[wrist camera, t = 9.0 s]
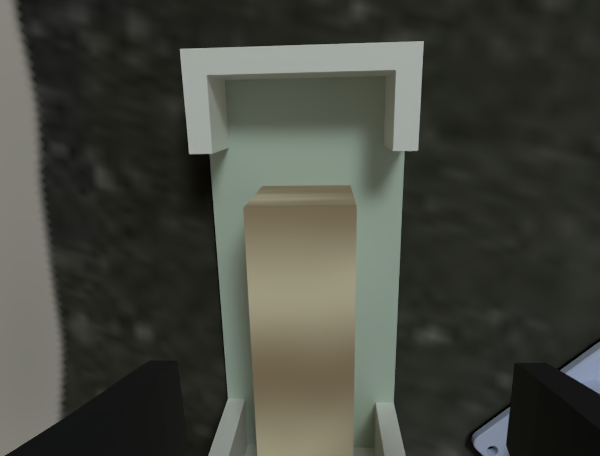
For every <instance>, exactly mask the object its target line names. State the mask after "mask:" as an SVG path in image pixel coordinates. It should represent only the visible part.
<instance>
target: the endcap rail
mask: <svg viewBox="0 0 600 456" xmlns="http://www.w3.org/2000/svg"><path fill="white" fill-rule="evenodd" d="M423 43H424V41H418V42H386V43H355V44H323V45H292V46H260V47H229V48H197V49H180V56H181V67H182V78H183V90H184V101H185V113H186V124H187V135H188V147H189V154H210V167H211V180H212V193H213V206H214V220H215V233H216V246H217V259H218V272H219V286H220V299H221V312H222V325H223V339H224V352H225V365H226V378H227V392H228V400H227V403H226V406H225V409H224V412H223V415H222V417H221V420H220V423H219V426H218V429H217V432H216V435H215V438H214V440H213V443H212V446H211V449H210V452H209V455H208V456H257V440H256V422H255V405H254V387H253V370H252V352H251V335H250V317H249V300H248V282H247V265H246V247H245V230H244V212H243V208H244V206H245V205H246V204H247V203H248V202H249V201H250V200H251V198H252V197H253V196H254V195H255V194H256V193H257V192H258V190H259V189H260V188H261V187H262V186H310V185H351V189H352V192H353V196H354V199H355V202H356V206H357V235H356V303H355V371H354V439H353V456H405V452H404V447H403V443H402V438H401V434H400V429H399V425H398V420H397V416H396V411H395V407H394V381H395V358H396V335H397V312H398V289H399V266H400V243H401V220H402V197H403V174H404V151H418V140H419V121H420V101H421V82H422V63H423Z"/></svg>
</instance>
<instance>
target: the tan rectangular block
mask: <svg viewBox="0 0 600 456" xmlns="http://www.w3.org/2000/svg"><path fill="white" fill-rule="evenodd" d="M243 212H244V230H245V247H246V265H247V282H248V300H249V317H250V335H251V352H252V370H253V387H254V405H255V422H256V440H257V456H353V439H354V371H355V303H356V235H357V206H356V202H355V199H354V196H353V192H352V189H351V185H310V186H262V187H261V188H260V189H259V190H258V192H257V193H256V194H255V195H254V196H253V197H252V198H251V200H250V201H249V202H248V203H247V204H246V205H245V206H244V208H243Z"/></svg>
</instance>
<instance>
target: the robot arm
mask: <svg viewBox="0 0 600 456" xmlns="http://www.w3.org/2000/svg"><path fill="white" fill-rule="evenodd" d="M186 441H187V435H186V427H185V419H184V410H183V402H182V394H181V386H180V378H179V370H178V362H177V361H149V362H147V363H146V364H144V365H142V366H141V367H139V368H138V369H136V370H134V371H133V372H131V373H130V374H128V375H127V376H126V377H124V378H123V379H121V380H120V381H118V382H117V383H115V384H114V385H112V386H111V387H110V388H108V389H107V390H105V391H104V392H102V393H101V394H99V395H98V396H96V397H95V398H94V399H92V400H91V401H89V402H88V403H86V404H85V405H83V406H82V407H80V408H79V409H77V410H76V411H74V412H73V413H72V414H70V415H69V416H67V417H66V418H64V419H62V420H61V421H59V422H58V423H56V424H55V425H53V426H51V427H50V428H48V429H47V430H45V431H44V432H42V433H40V434H39V435H37V436H36V437H34V438H32V439H31V440H29V441H28V442H26V443H25V444H23V445H21V446H20V447H18V448H17V449H15V450H14V451H12V452H10V453H9V454H7V455H5V456H182V454H183V451H184V447H185V444H186ZM472 443H473V445H474V447H475V449H476V450H477V451H478V452H479V453H481V454H482V455H483V456H600V342H598V343H597V344H596V345H594V346H593V347H591V348H590V349H589V350H587V351H586V352H585V353H583V354H582V355H580V356H579V357H578V358H576V359H575V360H574V361H572V362H571V363H569V364H568V365H567V366H565V367H564V368H563V369H561V370H558V369H556V368H554V367H552V366H550V365H548V364H546V363H515V367H514V376H513V385H512V394H511V403H510V407H509V408H508V409H506V410H505V411H503V412H502V413H501V414H499V415H498V416H497V417H495V418H494V419H492V420H491V421H490V422H488V423H487V424H486V425H484V426H483V427H481V428H480V429H479V430H477V431H476V432H475V433H474V434H473V435H472ZM490 446H494V447H493V448H491V449H487V448H488V447H490Z"/></svg>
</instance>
